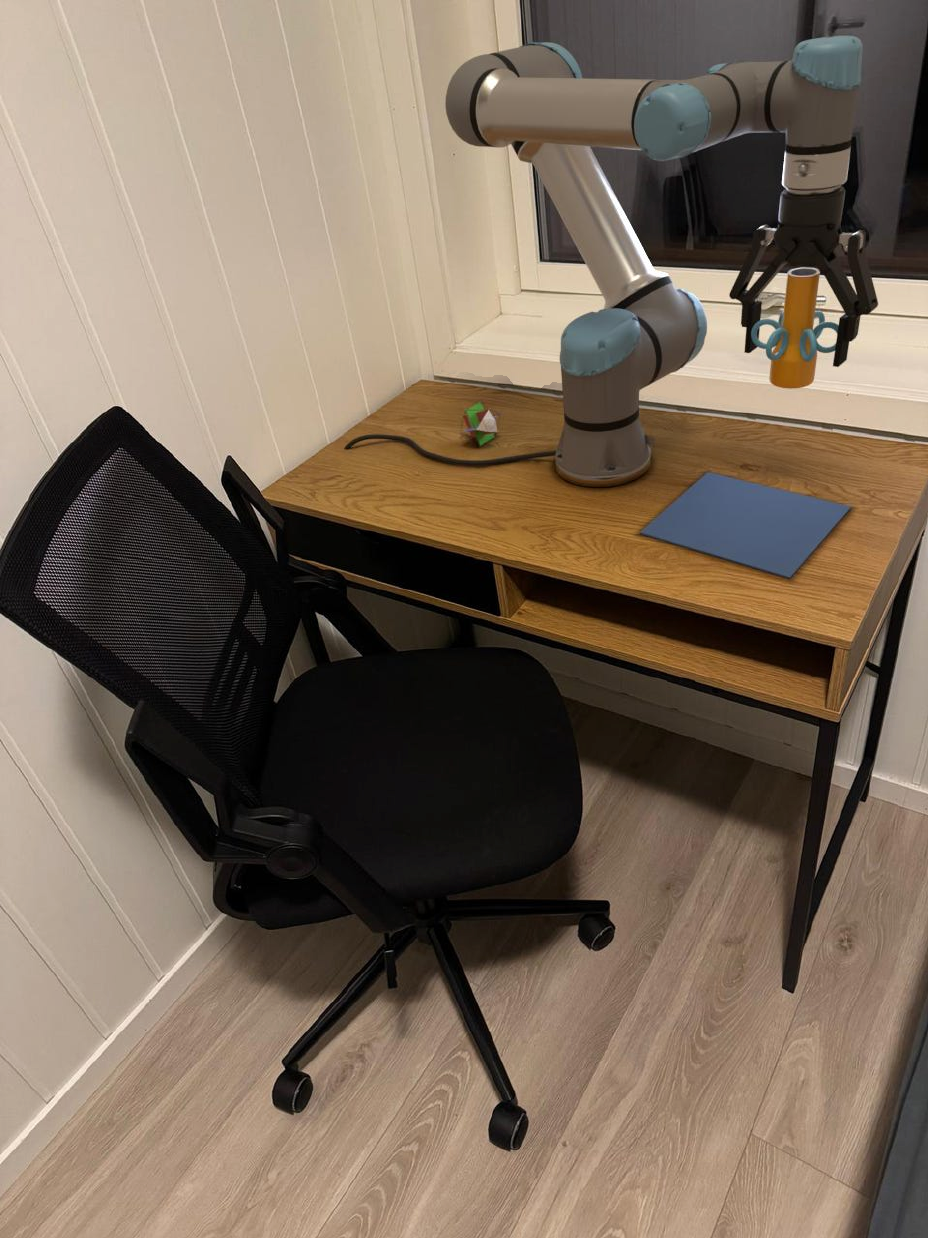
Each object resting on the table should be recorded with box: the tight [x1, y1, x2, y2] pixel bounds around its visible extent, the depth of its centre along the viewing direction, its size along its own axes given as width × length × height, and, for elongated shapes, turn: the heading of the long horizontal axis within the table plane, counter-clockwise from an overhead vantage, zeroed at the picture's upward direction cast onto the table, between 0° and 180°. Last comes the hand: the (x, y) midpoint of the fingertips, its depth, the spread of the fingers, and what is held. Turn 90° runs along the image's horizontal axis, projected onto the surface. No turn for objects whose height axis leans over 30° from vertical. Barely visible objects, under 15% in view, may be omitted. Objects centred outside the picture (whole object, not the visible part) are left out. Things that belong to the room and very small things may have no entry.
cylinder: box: [751, 266, 839, 389], centre depth 117 cm, size 12×10×15 cm
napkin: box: [639, 471, 852, 580], centre depth 121 cm, size 22×20×1 cm
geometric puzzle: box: [459, 400, 501, 447], centre depth 150 cm, size 7×7×8 cm
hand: (794, 356), depth 119 cm, fingers closed on cylinder, 12 cm apart
